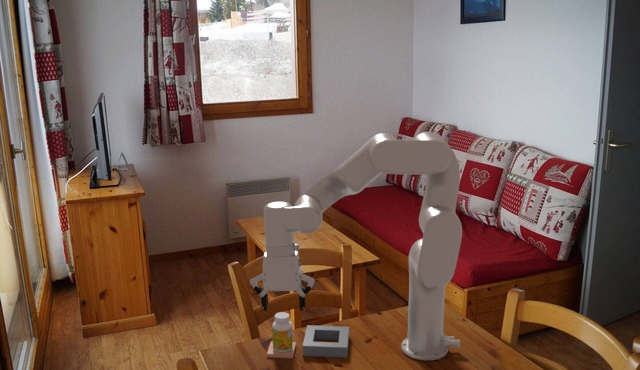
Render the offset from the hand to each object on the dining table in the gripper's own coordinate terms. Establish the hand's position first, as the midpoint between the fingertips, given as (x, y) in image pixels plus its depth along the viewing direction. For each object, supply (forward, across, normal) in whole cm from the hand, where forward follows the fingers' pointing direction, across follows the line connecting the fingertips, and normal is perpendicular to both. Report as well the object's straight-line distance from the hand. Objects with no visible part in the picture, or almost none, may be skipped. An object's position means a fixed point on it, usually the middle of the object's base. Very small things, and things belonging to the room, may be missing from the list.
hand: (283, 308), depth 174 cm
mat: (+13, +1, 0) cm, 13 cm away
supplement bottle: (+12, +1, 0) cm, 12 cm away
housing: (+13, -11, -4) cm, 17 cm away
